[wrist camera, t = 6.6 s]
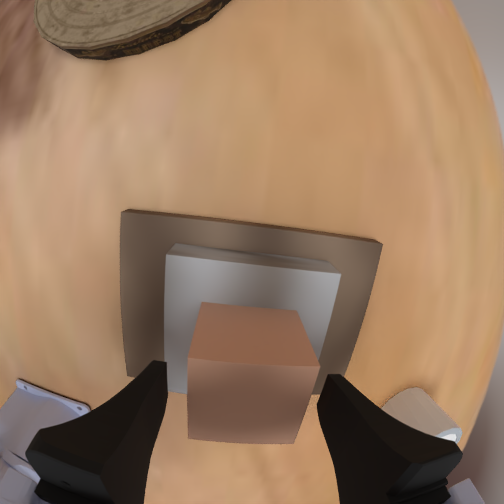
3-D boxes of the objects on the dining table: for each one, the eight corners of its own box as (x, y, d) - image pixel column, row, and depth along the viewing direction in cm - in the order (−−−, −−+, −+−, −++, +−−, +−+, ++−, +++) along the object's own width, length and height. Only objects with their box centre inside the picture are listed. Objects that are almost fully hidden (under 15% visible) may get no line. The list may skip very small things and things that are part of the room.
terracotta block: (197, 375, 16) (188, 438, 11) (201, 301, 15) (187, 357, 10) (280, 382, 16) (293, 443, 12) (296, 310, 15) (320, 366, 10)
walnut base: (131, 366, 20) (117, 396, 16) (128, 209, 17) (103, 218, 13) (333, 384, 21) (346, 414, 18) (374, 239, 18) (401, 254, 15)
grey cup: (359, 431, 23) (381, 483, 16) (394, 380, 22) (429, 432, 15) (406, 429, 24) (431, 472, 17) (440, 382, 22) (475, 424, 16)
